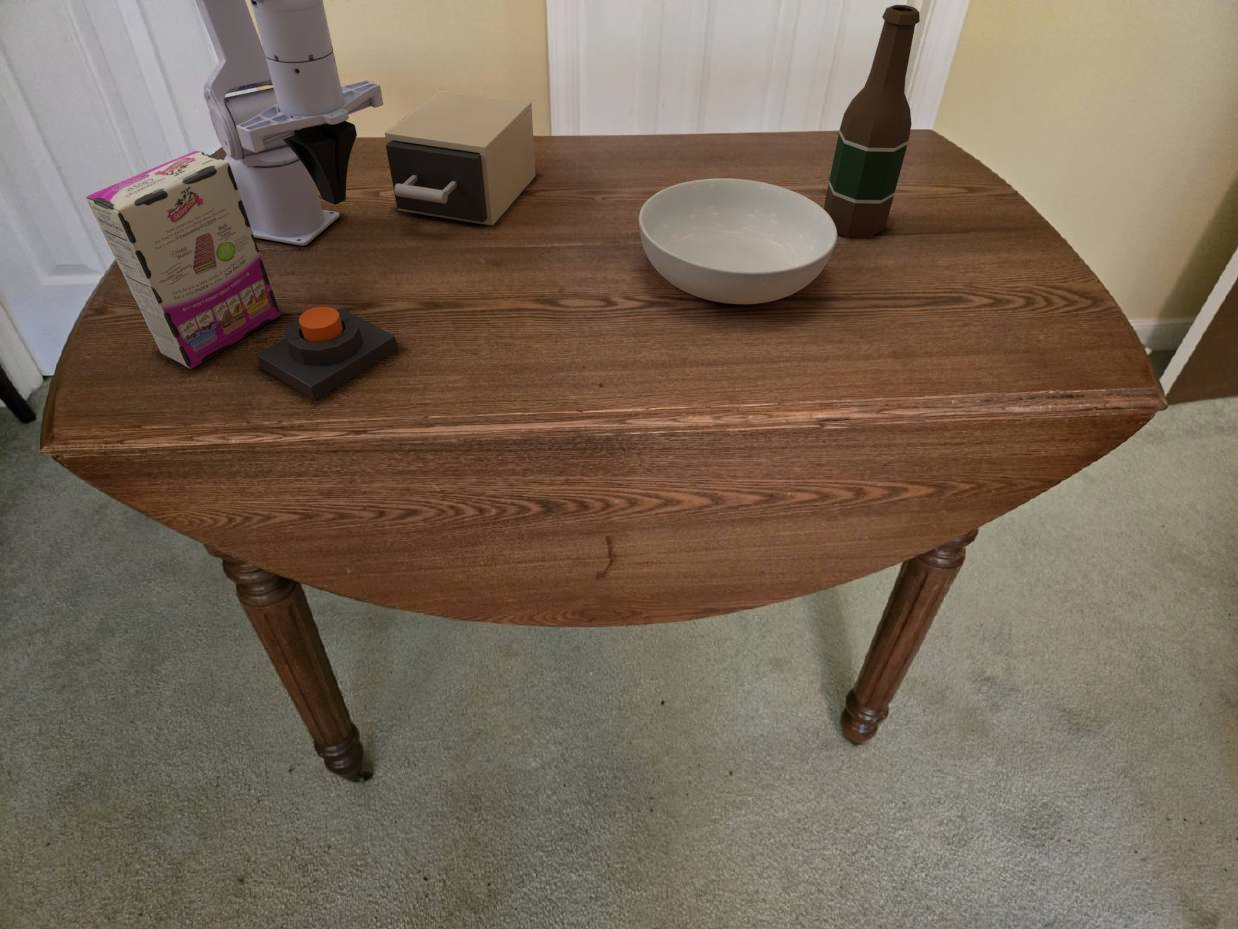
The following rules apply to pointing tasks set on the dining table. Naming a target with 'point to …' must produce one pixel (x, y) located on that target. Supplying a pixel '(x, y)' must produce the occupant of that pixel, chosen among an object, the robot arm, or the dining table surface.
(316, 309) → the button
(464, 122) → the cabinet
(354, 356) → the control block
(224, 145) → the robot arm
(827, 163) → the dining table surface
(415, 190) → the drawer
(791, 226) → the serving bowl
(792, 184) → the dining table surface
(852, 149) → the beer bottle
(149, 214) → the candy bar box
